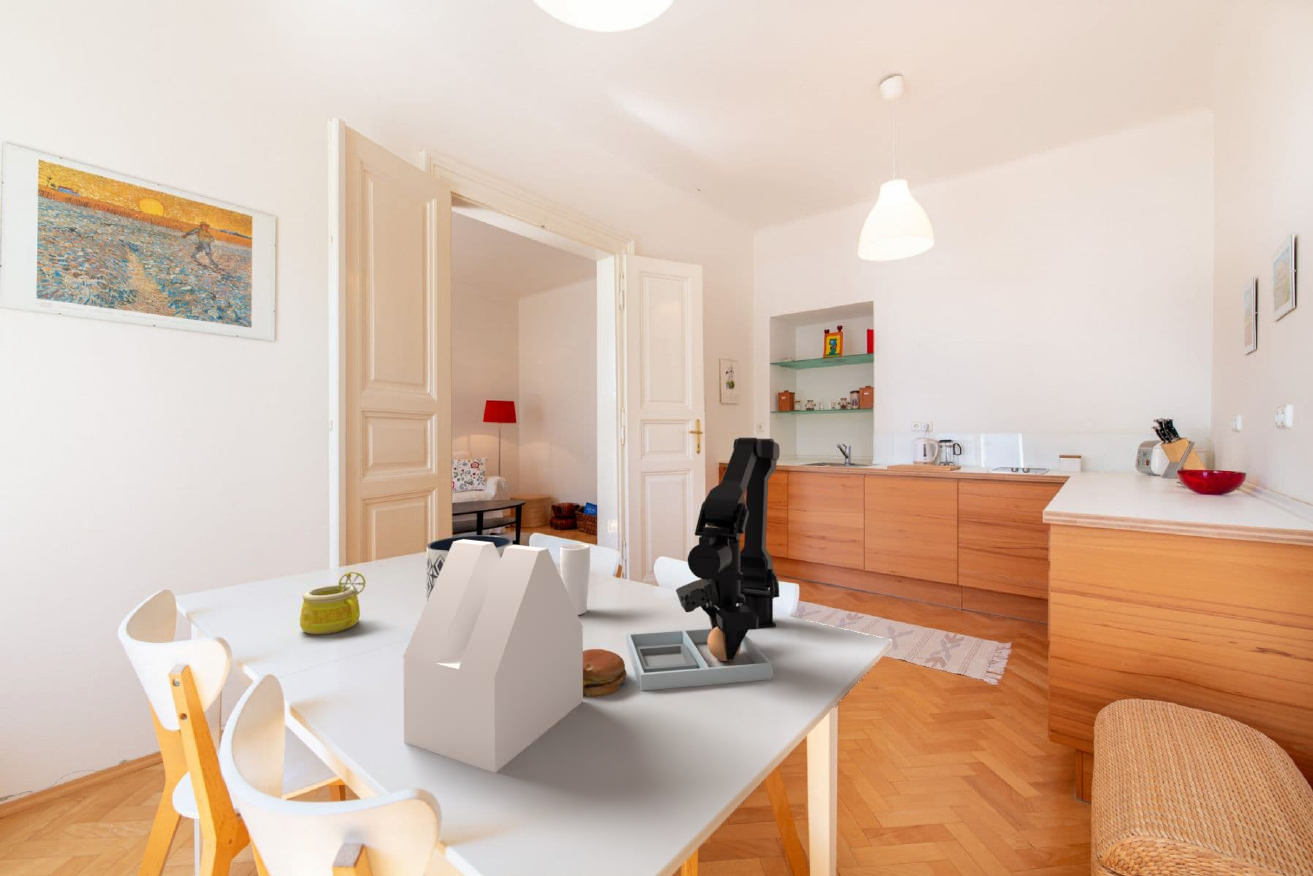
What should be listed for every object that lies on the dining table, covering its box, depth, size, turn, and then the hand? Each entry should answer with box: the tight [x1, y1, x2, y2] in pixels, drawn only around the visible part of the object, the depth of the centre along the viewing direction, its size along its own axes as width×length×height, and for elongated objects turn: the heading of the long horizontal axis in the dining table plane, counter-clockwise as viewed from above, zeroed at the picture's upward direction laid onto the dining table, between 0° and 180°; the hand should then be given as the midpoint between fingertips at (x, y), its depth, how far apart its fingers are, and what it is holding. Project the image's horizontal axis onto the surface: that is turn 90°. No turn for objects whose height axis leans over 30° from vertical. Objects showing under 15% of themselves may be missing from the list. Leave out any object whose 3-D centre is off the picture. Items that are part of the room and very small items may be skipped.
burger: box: [583, 648, 627, 697], centre depth 88 cm, size 10×9×5 cm
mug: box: [299, 571, 366, 635], centre depth 113 cm, size 13×11×12 cm
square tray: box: [635, 643, 698, 673], centre depth 95 cm, size 10×10×2 cm
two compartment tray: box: [626, 627, 774, 692], centre depth 96 cm, size 22×18×2 cm
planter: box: [426, 534, 514, 602], centre depth 121 cm, size 18×18×16 cm
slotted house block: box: [403, 539, 584, 774], centre depth 77 cm, size 19×15×25 cm
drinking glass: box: [559, 543, 591, 616], centre depth 123 cm, size 7×7×15 cm
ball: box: [706, 627, 742, 662], centre depth 97 cm, size 6×6×6 cm
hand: (724, 652), depth 97 cm, fingers closed on ball, 6 cm apart
